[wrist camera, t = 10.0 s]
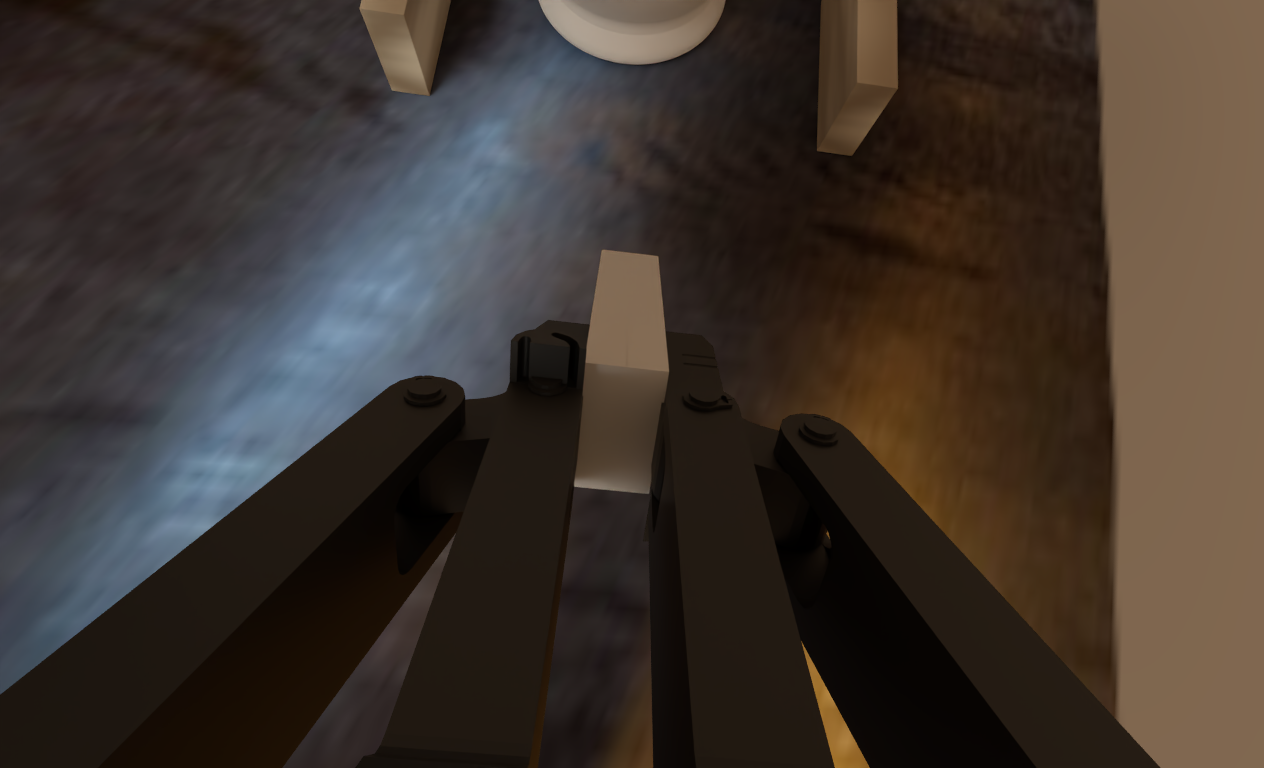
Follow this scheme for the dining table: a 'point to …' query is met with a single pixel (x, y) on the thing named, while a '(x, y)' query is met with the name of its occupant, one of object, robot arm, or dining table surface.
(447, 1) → the bay
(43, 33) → the dining table surface
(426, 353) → the dining table surface
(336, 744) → the dining table surface
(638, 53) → the jar
